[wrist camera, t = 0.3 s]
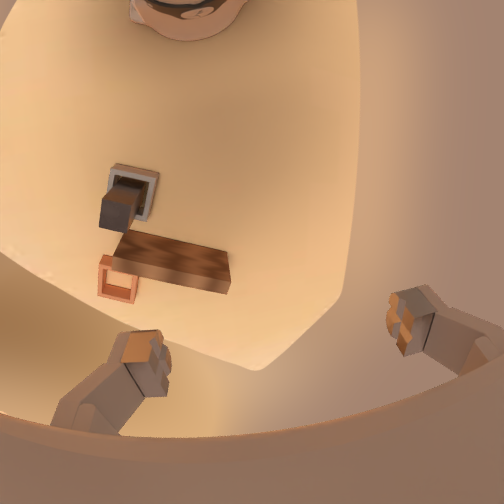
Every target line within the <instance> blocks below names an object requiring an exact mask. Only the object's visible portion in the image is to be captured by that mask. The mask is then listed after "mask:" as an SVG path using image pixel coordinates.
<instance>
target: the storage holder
mask: <svg viewBox="0 0 504 504" xmlns="http://www.w3.org/2000/svg"><path fill="white" fill-rule="evenodd" d="M119 175H120V176H124V177H129V178H134V179H138V180H142V181H147V182H150V183H149V187H148V192H147V197H146V202H145V207H144V208H140V209H139V211H138V213H137V214H136V216H135V218H134V219H136V220H140V221H145V222H147V220H148V217H149V215H150V211H151V206H152V201H153V197H154V192H155V188H156V183H157V179H158V175H159V173H157V172H152V171H148V170H144V169H139V168H135V167H130V166H125V165H121V164H115V165H114V166H113V167H112V168H111V169H110V175H109V181H108V187H107V193H108V192H109V191H110V189H111V188H112V187H113V186H114V185H115V184H116V183H117V182H118V177H119Z"/></svg>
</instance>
